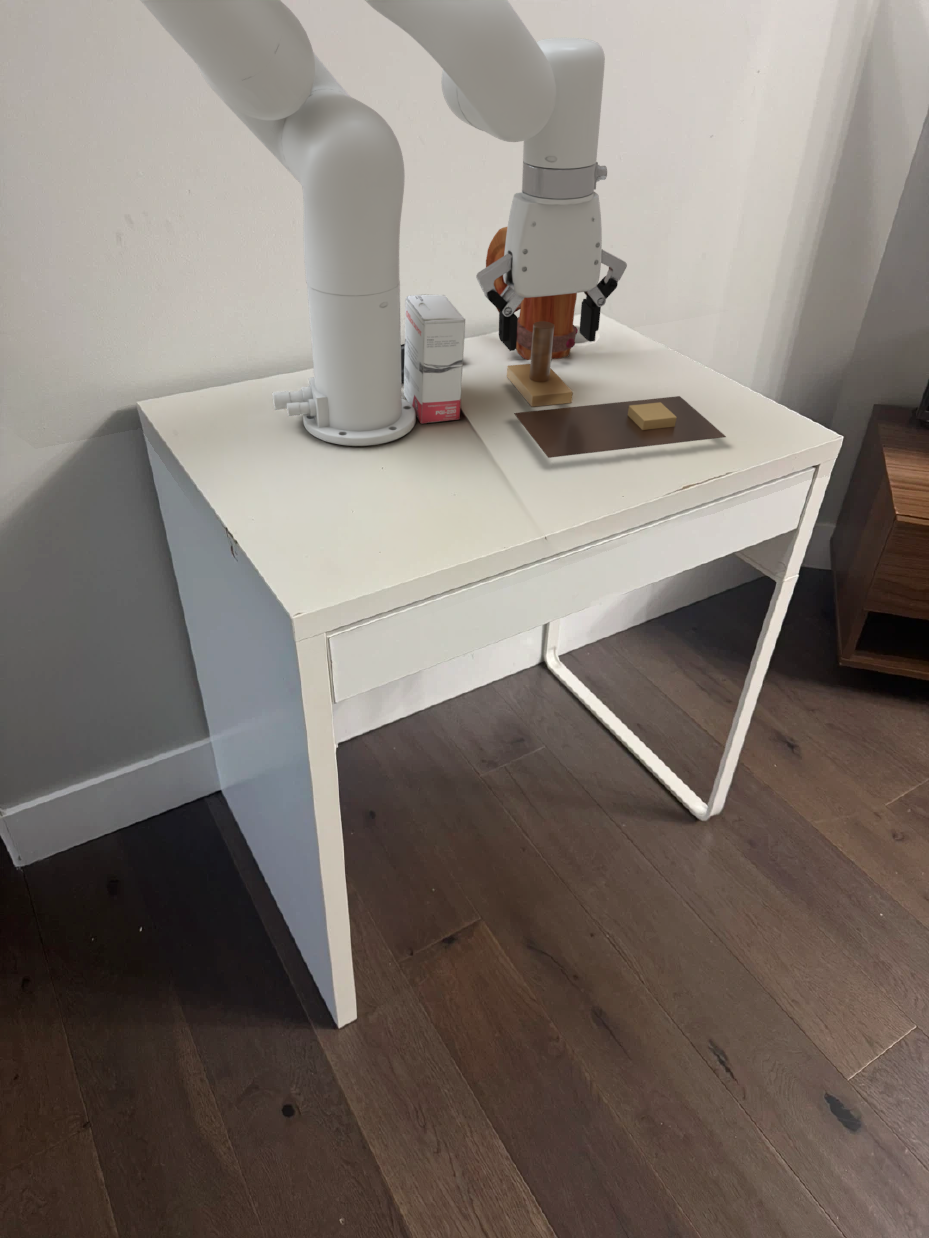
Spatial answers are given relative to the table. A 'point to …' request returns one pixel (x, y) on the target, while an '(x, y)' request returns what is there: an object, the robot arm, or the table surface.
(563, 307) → the mug
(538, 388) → the wooden rubber stamp
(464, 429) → the table surface
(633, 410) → the tan rectangular block
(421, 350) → the ink box
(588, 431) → the board
